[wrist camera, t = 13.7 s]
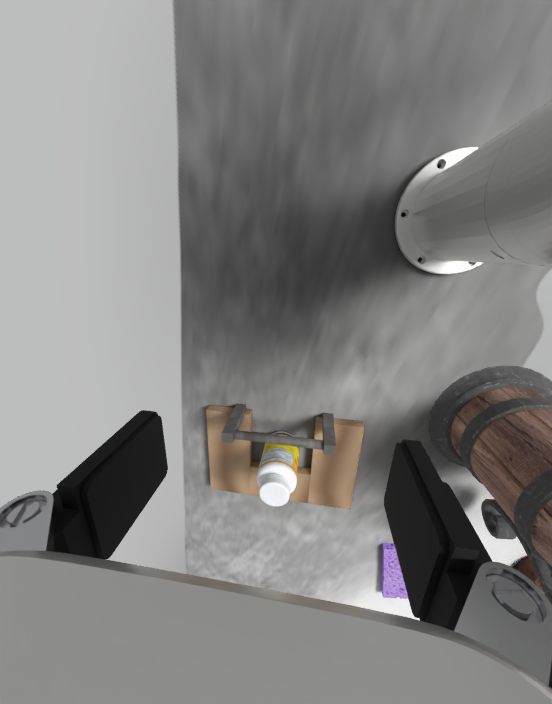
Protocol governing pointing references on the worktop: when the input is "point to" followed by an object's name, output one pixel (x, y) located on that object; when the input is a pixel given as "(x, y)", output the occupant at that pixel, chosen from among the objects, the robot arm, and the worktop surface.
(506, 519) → the tankard
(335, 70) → the worktop surface
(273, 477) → the supplement bottle
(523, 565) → the bread roll
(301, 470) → the shelf board
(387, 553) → the sponges
